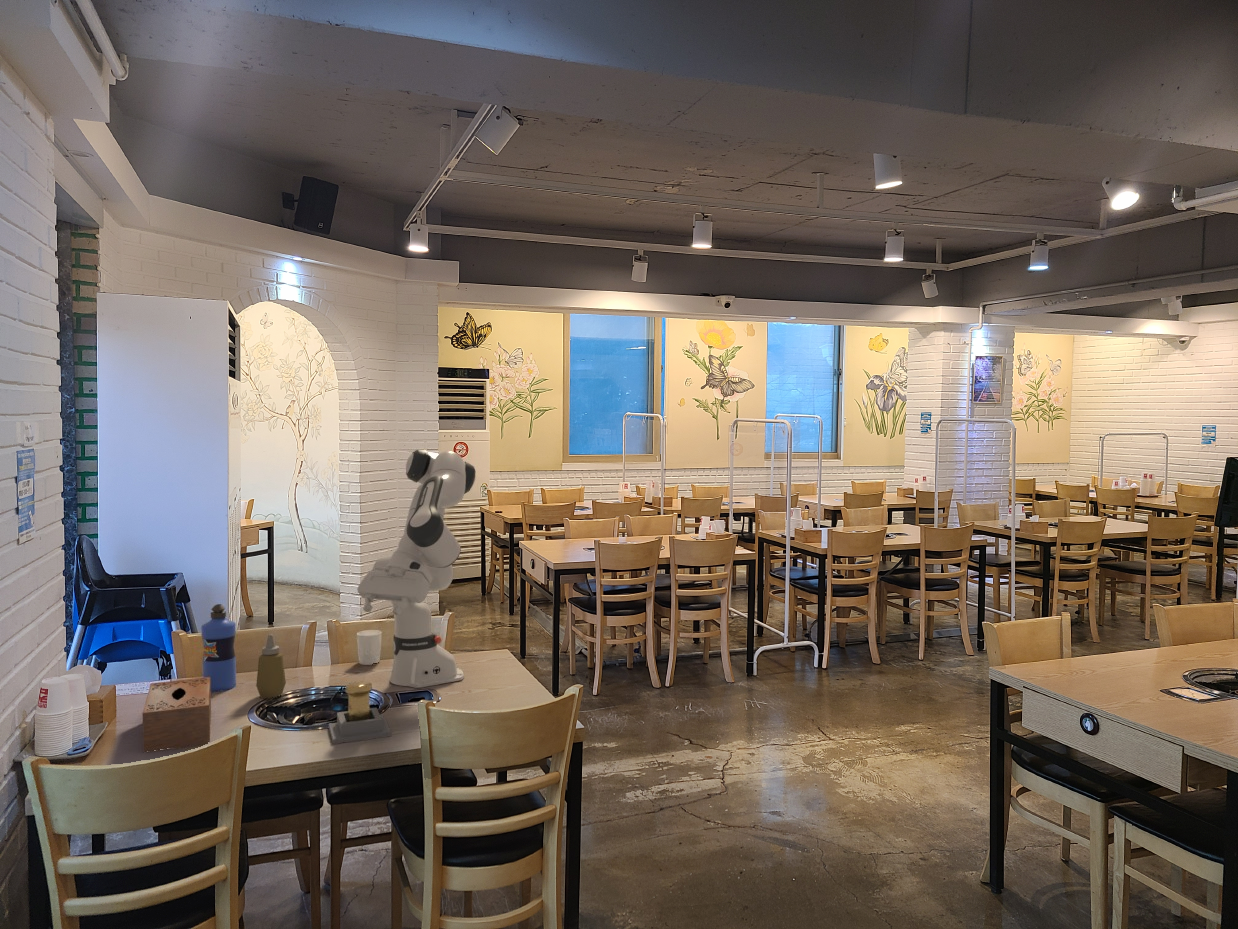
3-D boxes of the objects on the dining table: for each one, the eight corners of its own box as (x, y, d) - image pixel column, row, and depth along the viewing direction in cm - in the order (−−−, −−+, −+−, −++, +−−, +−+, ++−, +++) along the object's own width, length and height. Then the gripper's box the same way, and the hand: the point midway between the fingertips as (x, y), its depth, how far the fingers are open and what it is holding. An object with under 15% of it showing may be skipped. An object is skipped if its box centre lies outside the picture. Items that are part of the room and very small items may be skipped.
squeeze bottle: (275, 701, 243) (274, 639, 242) (250, 699, 244) (249, 637, 243) (291, 692, 251) (291, 632, 250) (267, 690, 252) (266, 631, 251)
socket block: (383, 721, 227) (383, 705, 227) (390, 736, 216) (390, 719, 216) (328, 728, 222) (328, 712, 221) (333, 744, 211) (333, 727, 210)
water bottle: (220, 680, 262) (219, 600, 260) (243, 684, 258) (242, 603, 257) (195, 689, 253) (193, 606, 252) (218, 693, 249) (217, 609, 248)
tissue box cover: (151, 720, 228) (150, 683, 227) (211, 712, 234) (210, 676, 233) (143, 754, 204) (142, 713, 204) (209, 744, 210) (209, 705, 210)
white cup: (359, 659, 286) (359, 630, 286) (383, 659, 287) (383, 629, 287) (354, 666, 278) (354, 635, 278) (379, 665, 279) (378, 635, 279)
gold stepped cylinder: (370, 722, 223) (370, 680, 223) (373, 729, 217) (373, 687, 217) (345, 725, 221) (344, 683, 220) (347, 732, 215) (346, 689, 214)
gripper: (366, 560, 236) (343, 602, 228) (428, 565, 229) (407, 608, 220) (376, 574, 241) (354, 615, 232) (438, 579, 233) (417, 622, 225)
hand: (380, 612), depth 226 cm, fingers open, 8 cm apart
